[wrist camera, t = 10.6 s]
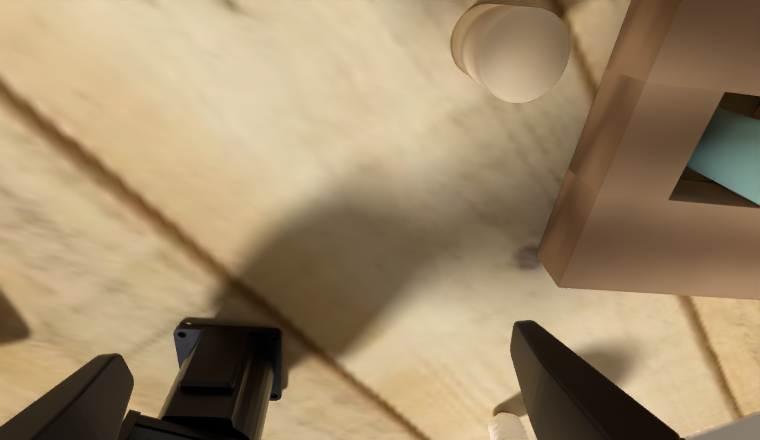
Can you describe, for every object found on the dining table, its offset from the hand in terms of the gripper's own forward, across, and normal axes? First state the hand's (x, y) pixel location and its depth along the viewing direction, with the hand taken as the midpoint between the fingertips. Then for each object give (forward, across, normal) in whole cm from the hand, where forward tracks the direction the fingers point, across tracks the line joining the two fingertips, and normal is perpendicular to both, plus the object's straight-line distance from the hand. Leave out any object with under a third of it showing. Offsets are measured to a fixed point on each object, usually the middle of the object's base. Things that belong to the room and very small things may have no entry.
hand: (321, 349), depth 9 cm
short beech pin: (+12, -7, -5) cm, 15 cm away
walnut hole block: (+12, -18, 0) cm, 22 cm away
